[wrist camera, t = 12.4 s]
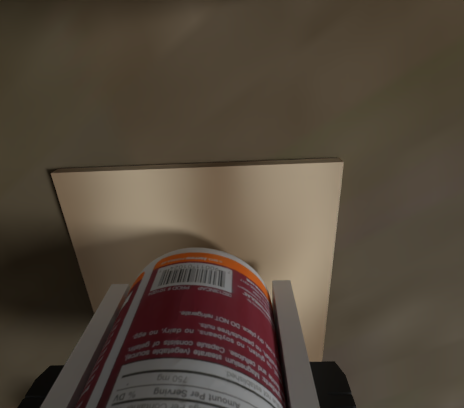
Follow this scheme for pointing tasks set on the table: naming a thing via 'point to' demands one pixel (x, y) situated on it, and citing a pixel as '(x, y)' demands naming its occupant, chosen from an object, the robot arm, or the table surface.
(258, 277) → the pill bottle
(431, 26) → the table surface
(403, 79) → the table surface
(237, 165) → the coaster
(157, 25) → the table surface
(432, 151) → the table surface
